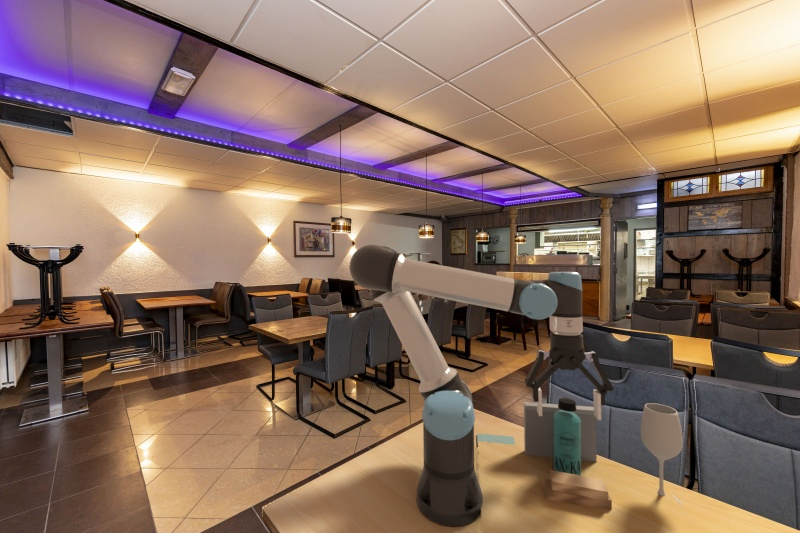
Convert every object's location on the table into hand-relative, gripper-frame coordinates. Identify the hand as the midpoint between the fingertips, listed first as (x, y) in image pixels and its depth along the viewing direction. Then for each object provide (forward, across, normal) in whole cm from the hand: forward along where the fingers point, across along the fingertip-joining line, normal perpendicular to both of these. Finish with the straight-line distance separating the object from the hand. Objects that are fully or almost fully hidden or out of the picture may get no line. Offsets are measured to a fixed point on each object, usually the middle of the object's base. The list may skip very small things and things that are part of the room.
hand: (568, 415), depth 83 cm
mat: (+16, -17, +12) cm, 26 cm away
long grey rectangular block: (+16, 0, +8) cm, 18 cm away
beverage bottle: (+16, 0, 0) cm, 16 cm away
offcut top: (+13, -1, -9) cm, 16 cm away
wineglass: (+16, +18, -4) cm, 25 cm away
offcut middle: (+15, -1, -9) cm, 17 cm away
